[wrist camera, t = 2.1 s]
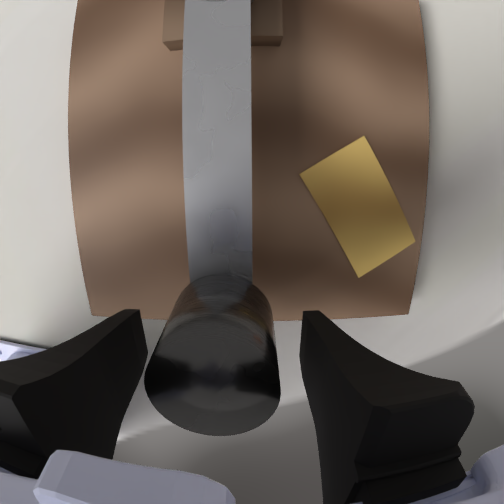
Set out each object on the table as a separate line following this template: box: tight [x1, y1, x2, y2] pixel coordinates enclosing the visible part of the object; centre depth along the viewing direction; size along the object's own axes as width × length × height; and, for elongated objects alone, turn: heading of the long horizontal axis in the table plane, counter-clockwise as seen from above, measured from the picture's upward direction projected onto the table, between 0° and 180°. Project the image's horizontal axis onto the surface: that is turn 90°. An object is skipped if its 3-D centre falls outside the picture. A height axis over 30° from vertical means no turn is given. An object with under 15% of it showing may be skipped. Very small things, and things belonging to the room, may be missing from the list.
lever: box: [144, 0, 281, 436], centre depth 9 cm, size 18×4×6 cm, turn 0°
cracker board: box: [68, 0, 429, 321], centre depth 14 cm, size 18×18×3 cm
